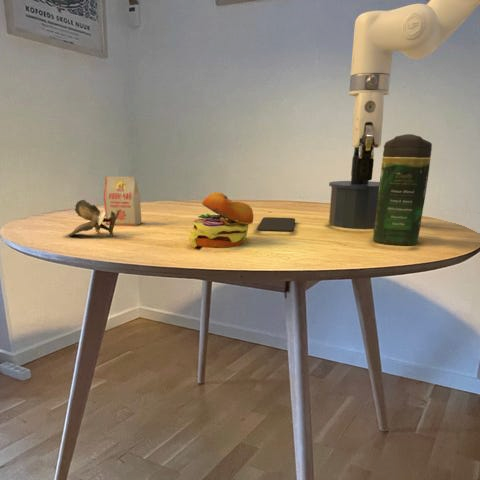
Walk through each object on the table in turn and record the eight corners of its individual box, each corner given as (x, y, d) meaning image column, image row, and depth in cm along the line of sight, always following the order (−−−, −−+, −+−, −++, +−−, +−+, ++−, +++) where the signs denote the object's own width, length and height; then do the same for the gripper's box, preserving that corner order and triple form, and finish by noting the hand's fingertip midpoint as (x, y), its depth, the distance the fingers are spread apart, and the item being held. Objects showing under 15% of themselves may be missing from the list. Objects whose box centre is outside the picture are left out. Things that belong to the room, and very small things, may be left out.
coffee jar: (417, 250, 80) (434, 133, 73) (370, 246, 82) (382, 133, 76) (418, 240, 88) (434, 134, 82) (375, 236, 91) (387, 134, 84)
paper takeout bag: (113, 221, 106) (109, 175, 103) (141, 222, 105) (138, 176, 102) (106, 224, 103) (101, 177, 99) (135, 225, 102) (131, 177, 98)
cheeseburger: (178, 241, 85) (189, 186, 83) (230, 250, 90) (242, 198, 88) (197, 251, 77) (209, 190, 74) (254, 261, 82) (267, 204, 79)
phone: (255, 229, 93) (263, 217, 107) (255, 233, 94) (263, 220, 107) (293, 230, 92) (295, 217, 106) (292, 234, 93) (295, 221, 106)
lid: (385, 186, 104) (388, 155, 101) (395, 192, 92) (399, 157, 90) (327, 185, 105) (329, 154, 103) (330, 191, 94) (332, 156, 91)
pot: (379, 223, 106) (383, 184, 103) (387, 232, 96) (392, 189, 93) (327, 221, 108) (330, 183, 105) (330, 230, 97) (333, 188, 94)
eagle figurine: (121, 225, 95) (77, 216, 95) (118, 197, 90) (72, 188, 89) (110, 251, 91) (64, 242, 90) (107, 224, 85) (57, 215, 85)
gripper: (396, 81, 83) (385, 182, 89) (382, 90, 99) (373, 175, 106) (354, 81, 84) (345, 181, 90) (346, 91, 100) (339, 175, 106)
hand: (360, 178), depth 98 cm, fingers open, 8 cm apart
